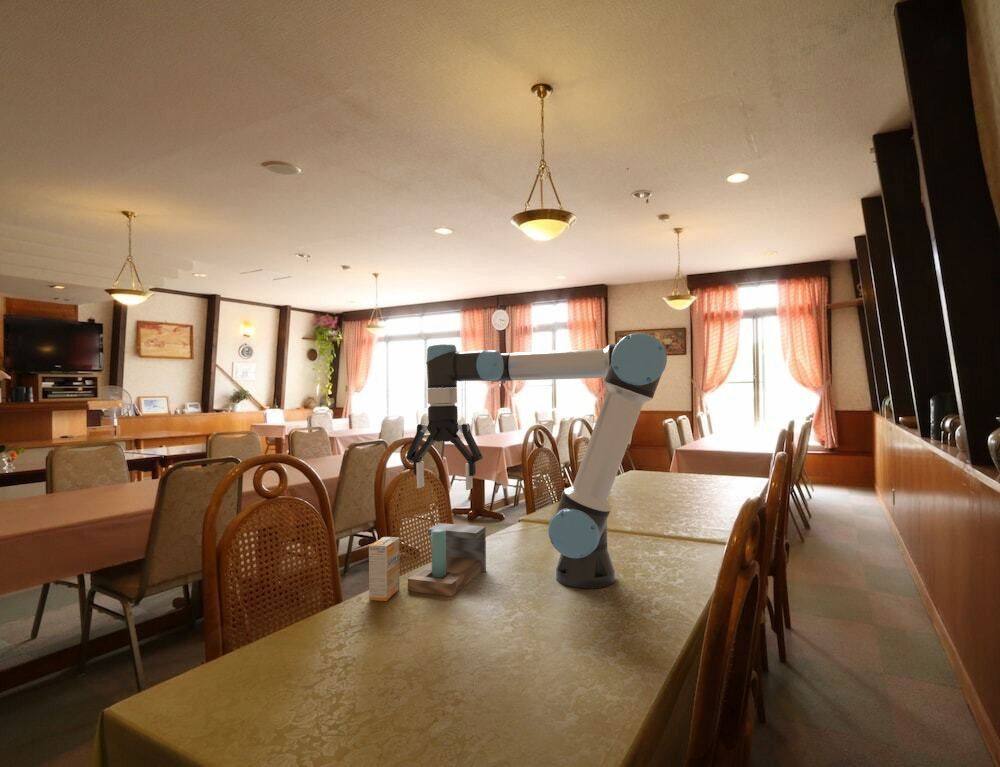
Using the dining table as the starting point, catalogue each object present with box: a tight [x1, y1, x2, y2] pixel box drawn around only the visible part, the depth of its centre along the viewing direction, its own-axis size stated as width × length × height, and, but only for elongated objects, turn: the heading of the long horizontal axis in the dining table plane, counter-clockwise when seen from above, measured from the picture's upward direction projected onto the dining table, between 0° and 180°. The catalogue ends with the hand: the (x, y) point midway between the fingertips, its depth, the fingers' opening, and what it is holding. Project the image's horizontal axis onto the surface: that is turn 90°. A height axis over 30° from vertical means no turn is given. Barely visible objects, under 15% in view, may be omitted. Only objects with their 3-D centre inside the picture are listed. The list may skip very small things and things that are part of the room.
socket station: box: [407, 522, 487, 597], centre depth 143 cm, size 14×20×12 cm
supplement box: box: [368, 536, 400, 602], centre depth 133 cm, size 8×5×13 cm, turn 168°
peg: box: [430, 529, 446, 579], centre depth 138 cm, size 4×4×14 cm
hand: (444, 488), depth 140 cm, fingers open, 13 cm apart
